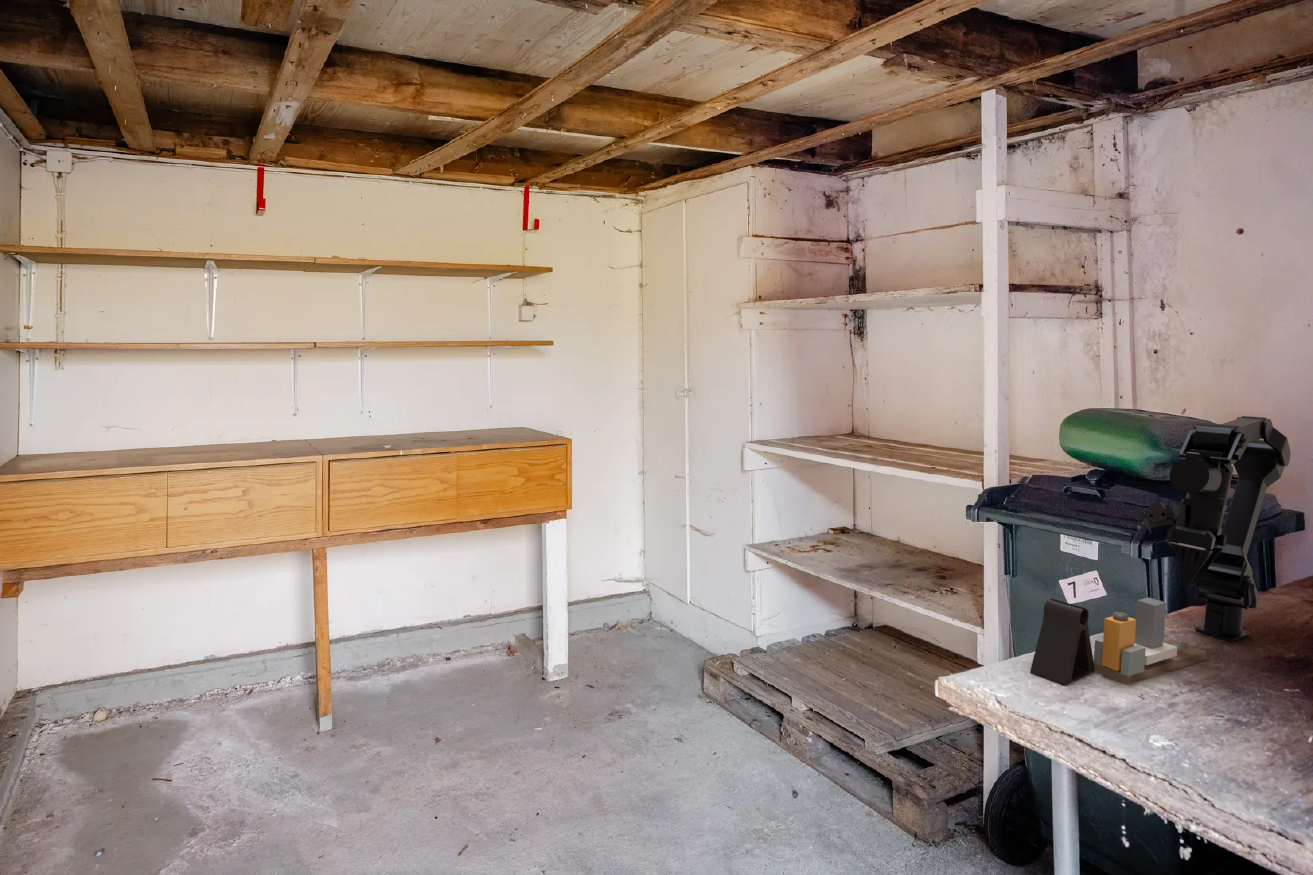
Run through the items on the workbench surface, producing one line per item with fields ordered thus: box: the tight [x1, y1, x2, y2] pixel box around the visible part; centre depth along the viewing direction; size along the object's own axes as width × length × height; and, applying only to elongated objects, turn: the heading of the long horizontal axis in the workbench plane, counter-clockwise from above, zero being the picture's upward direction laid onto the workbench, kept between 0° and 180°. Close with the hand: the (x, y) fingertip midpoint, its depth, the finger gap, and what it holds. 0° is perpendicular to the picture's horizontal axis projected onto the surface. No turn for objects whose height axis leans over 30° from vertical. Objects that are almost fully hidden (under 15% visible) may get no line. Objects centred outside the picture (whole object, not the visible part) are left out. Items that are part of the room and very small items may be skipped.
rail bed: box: [1094, 639, 1207, 686], centre depth 137 cm, size 21×6×2 cm, turn 116°
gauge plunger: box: [1102, 611, 1136, 671], centre depth 132 cm, size 4×3×9 cm
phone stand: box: [1029, 598, 1095, 686], centre depth 134 cm, size 9×6×12 cm, turn 123°
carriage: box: [1134, 597, 1177, 665], centre depth 135 cm, size 9×6×9 cm, turn 116°
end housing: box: [1093, 637, 1146, 676], centre depth 133 cm, size 4×6×4 cm, turn 26°
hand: (1188, 584), depth 139 cm, fingers open, 9 cm apart
